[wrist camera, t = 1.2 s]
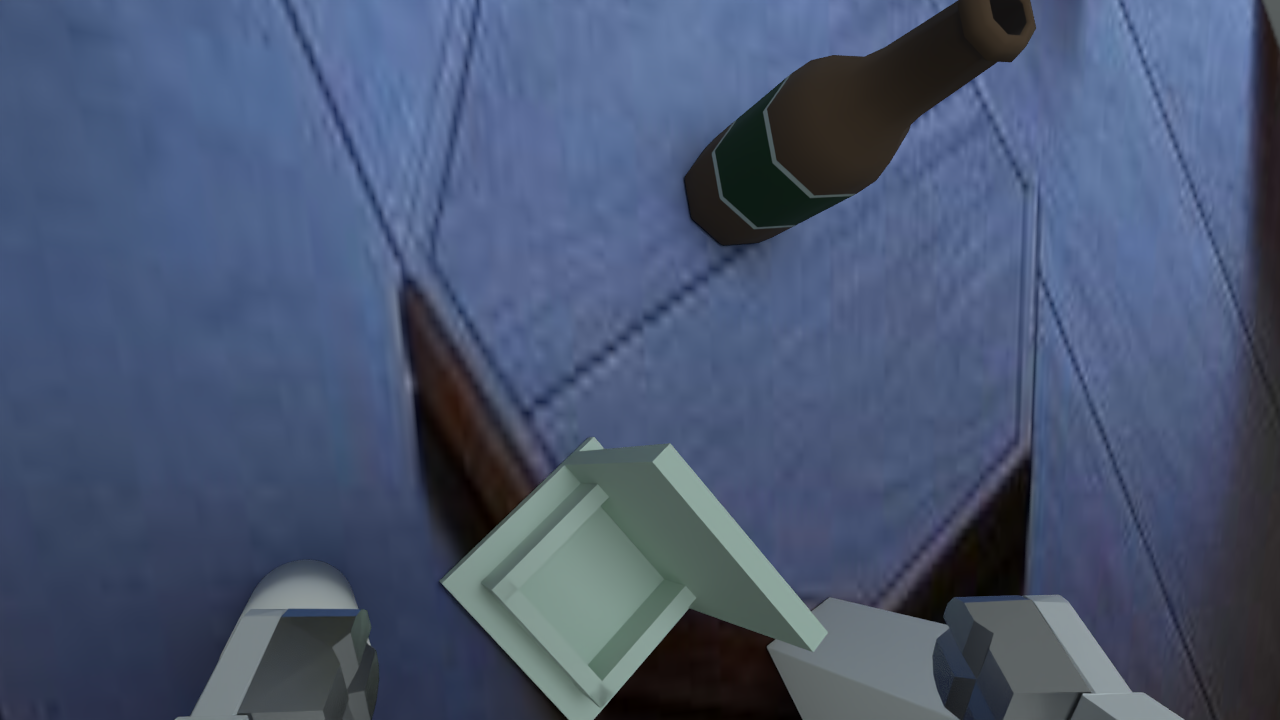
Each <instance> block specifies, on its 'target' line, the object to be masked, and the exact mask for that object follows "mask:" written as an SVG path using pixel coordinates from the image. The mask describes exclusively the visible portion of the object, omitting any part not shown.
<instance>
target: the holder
mask: <svg viewBox="0 0 1280 720" xmlns="http://www.w3.org/2000/svg"><path fill="white" fill-rule="evenodd" d="M440 582H441V583H442V585H443V586H444V587H445V588H446V589H447V590H448V591H449V592H450V593H451V594H452V595H453V596H454V597H455V598H456V600H457V601H458V602H459V603H460V604H461V605H462V606H463V607H464V608H465V609H466V610H467V611H468V612H469V613H470V615H471V616H472V617H473V618H474V619H475V620H476V621H477V622H478V623H479V624H480V625H481V626H482V627H483V628H484V630H485V631H486V632H487V633H488V634H489V635H490V636H491V637H492V638H493V639H494V640H495V641H496V642H497V643H498V645H499V646H500V647H501V648H502V649H503V650H504V651H505V652H506V653H507V654H508V655H509V656H510V657H511V659H512V660H513V661H514V662H515V663H516V664H517V665H518V666H519V667H520V668H521V669H522V670H523V671H524V672H525V674H526V675H527V676H528V677H529V678H530V679H531V680H532V681H533V682H534V683H535V684H536V685H537V686H538V687H539V689H540V690H541V691H542V692H543V693H544V694H545V695H546V696H547V697H548V698H549V699H550V700H551V701H552V702H553V704H554V705H555V706H556V707H557V708H558V709H559V710H560V711H561V712H562V713H563V714H564V715H565V716H566V717H567V719H568V720H594V718H595V717H596V716H597V715H598V714H599V713H600V711H601V710H602V709H603V708H604V707H605V706H606V704H607V703H608V702H609V701H610V700H611V699H612V698H613V696H614V695H615V694H616V693H617V692H618V691H619V689H620V688H621V687H622V686H623V685H624V684H625V682H626V681H627V680H628V679H629V678H630V677H631V675H632V674H633V673H634V672H635V671H636V670H637V668H638V667H639V666H640V665H641V664H642V663H643V661H644V660H645V659H646V658H647V657H648V656H649V654H650V653H651V652H652V651H653V650H654V649H655V647H656V646H657V645H658V644H659V643H660V642H661V640H662V639H663V638H664V637H665V636H666V635H667V633H668V632H669V631H670V630H671V629H672V628H673V626H674V625H675V624H676V623H677V622H678V621H679V620H680V618H681V617H682V616H683V615H684V614H685V613H686V611H687V610H688V609H689V608H690V609H693V610H696V611H699V612H702V613H704V614H707V615H710V616H713V617H716V618H718V619H721V620H724V621H727V622H730V623H733V624H735V625H738V626H741V627H744V628H747V629H749V630H752V631H755V632H758V633H761V634H763V635H766V636H769V637H772V638H775V639H777V640H780V641H783V642H786V643H789V644H791V645H794V646H797V647H800V648H803V649H806V650H808V651H811V652H814V651H815V650H816V648H817V647H818V646H819V644H820V643H821V642H822V640H823V639H824V638H825V636H826V635H827V634H828V632H827V630H826V629H825V628H824V627H823V626H822V624H821V623H820V622H819V621H818V620H817V618H816V617H815V616H814V615H813V614H812V612H811V611H810V610H809V609H808V608H807V606H806V605H805V604H804V603H803V602H802V600H801V599H800V598H799V597H798V596H797V594H796V593H795V592H794V591H793V590H792V588H791V587H790V586H789V585H788V584H787V583H786V581H785V580H784V579H783V578H782V577H781V575H780V574H779V573H778V572H777V571H776V569H775V568H774V567H773V566H772V565H771V563H770V562H769V561H768V560H767V559H766V557H765V556H764V555H763V554H762V553H761V551H760V550H759V549H758V548H757V547H756V545H755V544H754V543H753V542H752V541H751V539H750V538H749V537H748V536H747V535H746V533H745V532H744V531H743V530H742V529H741V528H740V526H739V525H738V524H737V523H736V522H735V520H734V519H733V518H732V517H731V516H730V514H729V513H728V512H727V511H726V510H725V508H724V507H723V506H722V505H721V504H720V502H719V501H718V500H717V499H716V498H715V496H714V495H713V494H712V493H711V492H710V490H709V489H708V488H707V487H706V486H705V484H704V483H703V482H702V481H701V480H700V478H699V477H698V476H697V475H696V474H695V473H694V471H693V470H692V469H691V468H690V467H689V465H688V464H687V463H686V462H685V461H684V459H683V458H682V457H681V456H680V455H679V453H678V452H677V451H676V450H675V449H674V447H673V446H672V445H671V444H658V445H647V446H635V447H623V448H612V449H604V448H603V447H602V446H601V444H600V443H599V442H598V441H597V440H596V439H595V437H589V438H588V439H587V440H585V441H584V442H583V443H582V444H581V445H580V446H579V447H578V448H577V449H576V450H575V451H574V452H573V453H572V454H571V455H570V456H569V457H568V458H567V459H566V460H565V461H564V462H563V463H562V464H561V465H559V466H558V467H557V468H556V469H555V470H554V471H553V472H552V473H551V474H550V475H549V476H548V477H547V478H546V479H545V480H544V481H543V482H542V483H541V484H540V485H539V486H538V487H537V488H536V489H534V490H533V491H532V492H531V493H530V494H529V495H528V496H527V497H526V498H525V499H524V500H523V501H522V502H521V503H520V504H519V505H518V506H517V507H516V508H515V509H514V510H513V511H512V512H511V513H510V514H508V515H507V516H506V517H505V518H504V519H503V520H502V521H501V522H500V523H499V524H498V525H497V526H496V527H495V528H494V529H493V530H492V531H491V532H490V533H489V534H488V535H487V536H486V537H485V538H483V539H482V540H481V541H480V542H479V543H478V544H477V545H476V546H475V547H474V548H473V549H472V550H471V551H470V552H469V553H468V554H467V555H466V556H465V557H464V558H463V559H462V560H461V561H460V562H459V563H457V564H456V565H455V566H454V567H453V568H452V569H451V570H450V571H449V572H448V573H447V574H446V575H445V576H444V577H443V578H442V579H441V580H440Z"/></svg>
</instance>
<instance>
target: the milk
mask: <svg viewBox="0 0 1280 720" xmlns="http://www.w3.org/2000/svg"><path fill="white" fill-rule="evenodd" d="M811 612H812V614H813V615H814V616H815V617H816V618H817V620H818V621H819V622H820V623H821V624H822V626H823V627H824V628H825V629H826V630H827V632H828V634H827V635H826V636H825V638H824V639H823V640H822V642H821V643H820V644H819V646H818V647H817V648H816V650H815V651H814V652H811V651H808V650H806V649H803V648H800V647H797V646H794V645H791V644H789V643H786V642H783V641H780V640H777V639H775V640H774V641H773V642H771V643H770V644H769V645H768V646H767V649H768V651H769V653H770V655H771V657H772V659H773V661H774V663H775V665H776V667H777V669H778V671H779V673H780V675H781V677H782V679H783V681H784V683H785V685H786V687H787V689H788V691H789V693H790V695H791V697H792V699H793V701H794V703H795V705H796V707H797V709H798V711H799V713H800V715H801V717H802V719H803V720H959V719H958V718H957V717H956V716H955V715H953V714H952V713H951V712H950V711H948V710H947V709H946V708H945V707H944V705H943V703H942V700H941V698H940V696H939V693H938V691H937V688H936V684H935V680H934V676H933V659H932V655H933V651H934V647H935V643H936V639H937V638H938V637H939V636H941V635H942V634H943V633H944V632H945V631H947V630H948V629H949V627H948V625H944V624H940V623H936V622H932V621H928V620H923V619H919V618H915V617H911V616H907V615H902V614H898V613H894V612H890V611H886V610H882V609H877V608H873V607H869V606H865V605H861V604H856V603H852V602H848V601H844V600H840V599H835V598H831V597H829V598H828V599H826V600H825V601H824V602H823V603H821V604H820V605H819V606H817V607H816V608H815V609H814V610H812V611H811Z"/></svg>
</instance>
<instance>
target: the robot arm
mask: <svg viewBox="0 0 1280 720" xmlns="http://www.w3.org/2000/svg"><path fill="white" fill-rule="evenodd" d="M944 618H945V620H946V622H947V625H948V627H949V629H948V630H947V631H945V632H944V633H943V634H942V635H941V636H939V637H938V638H937V639H936V643H935V647H934V651H933V655H932V659H933V676H934V680H935V684H936V688H937V691H938V693H939V696H940V698H941V700H942V703H943V705H944V707H945V708H946V709H947V710H948V711H950V712H951V713H952V714H953V715H955V716H956V717H957V718H958V719H959V720H1184V719H1183V718H1181V717H1179V716H1178V715H1176V714H1175V713H1173V712H1172V711H1170V710H1169V709H1167V708H1166V707H1164V706H1163V705H1161V704H1160V703H1158V702H1157V701H1155V700H1154V699H1152V698H1151V697H1149V696H1148V695H1146V694H1145V693H1143V692H1132V691H1131V690H1130V688H1129V687H1128V685H1127V684H1126V683H1125V681H1124V680H1123V678H1122V677H1121V675H1120V674H1119V673H1118V671H1117V670H1116V668H1115V667H1114V666H1113V664H1112V663H1111V661H1110V660H1109V658H1108V657H1107V656H1106V654H1105V653H1104V651H1103V650H1102V649H1101V647H1100V646H1099V644H1098V643H1097V641H1096V640H1095V639H1094V637H1093V636H1092V634H1091V633H1090V632H1089V630H1088V629H1087V627H1086V626H1085V624H1084V623H1083V622H1082V620H1081V619H1080V617H1079V616H1078V615H1077V613H1076V612H1075V610H1074V609H1073V607H1072V606H1071V605H1070V603H1069V602H1068V601H1067V600H1066V599H1064V598H1063V597H1062V596H1060V595H1033V596H986V597H954V598H953V599H952V600H951V601H950V602H949V603H948V605H947V608H946V611H945V614H944ZM370 630H371V624H370V621H369V617H368V613H367V610H363V609H250V610H249V611H248V612H247V613H246V614H245V615H244V616H243V617H242V618H241V619H240V621H239V623H238V624H237V626H236V628H235V630H234V632H233V634H232V636H231V638H230V640H229V642H228V644H227V646H226V648H225V650H224V652H223V653H222V655H221V657H220V659H219V661H218V663H217V665H216V667H215V669H214V671H213V673H212V675H211V677H210V679H209V681H208V682H207V684H206V686H205V688H204V690H203V692H202V694H201V696H200V698H199V700H198V702H197V704H196V706H195V708H194V710H193V711H192V713H191V715H190V716H185V717H177V718H176V719H175V720H372V716H373V712H374V708H375V705H376V699H377V691H378V683H379V665H378V658H377V653H376V650H375V649H374V648H372V647H371V646H370V645H369V644H368V643H367V640H368V637H369V633H370Z"/></svg>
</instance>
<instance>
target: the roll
mask: <svg viewBox="0 0 1280 720" xmlns="http://www.w3.org/2000/svg"><path fill="white" fill-rule="evenodd" d="M250 609H358V606H357V603H356V600H355V597H354V594H353V591H352V589H351V586H350V584H349V582H348V580H347V579H346V578H345V576H344V575H343V574H342V573H341V572H340V571H339V570H337V569H336V568H335V567H333V566H331V565H329V564H327V563H325V562H322V561H317V560H309V559H308V560H296V561H292V562H288V563H286V564H283V565H281V566H279V567H277V568H275V569H274V570H272V571H271V572H270V573H268V574H267V575H266V576H265V577H264V578H263V579H262V580H261V581H260V582H259V583H258V585H257V586H256V588H255V589H254V591H253V593H252V595H251V597H250V599H249V601H248V603H247V605H246V606H245V608H244V610H243V612H242V614H241V616H240V618H239V620H238V622H237V624H238V623H239V621H240V619H241V618H242V617H243V616H244V615H245V614H246V613H247V612H248V611H249V610H250ZM237 624H236V626H237ZM236 626H235V628H236ZM235 628H234V630H235ZM234 630H233V632H234ZM233 632H232V634H233ZM232 634H231V636H232ZM231 636H230V638H231ZM230 638H229V640H230ZM229 640H228V642H229ZM228 642H227V644H228ZM367 643H368V644H369V645H370V642H369V639H368V640H367ZM227 644H226V646H227ZM226 646H225V648H226ZM370 646H371V645H370ZM225 648H224V650H225ZM224 650H223V652H224ZM223 652H222V653H223ZM221 655H222V654H221ZM220 657H221V656H220Z"/></svg>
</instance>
